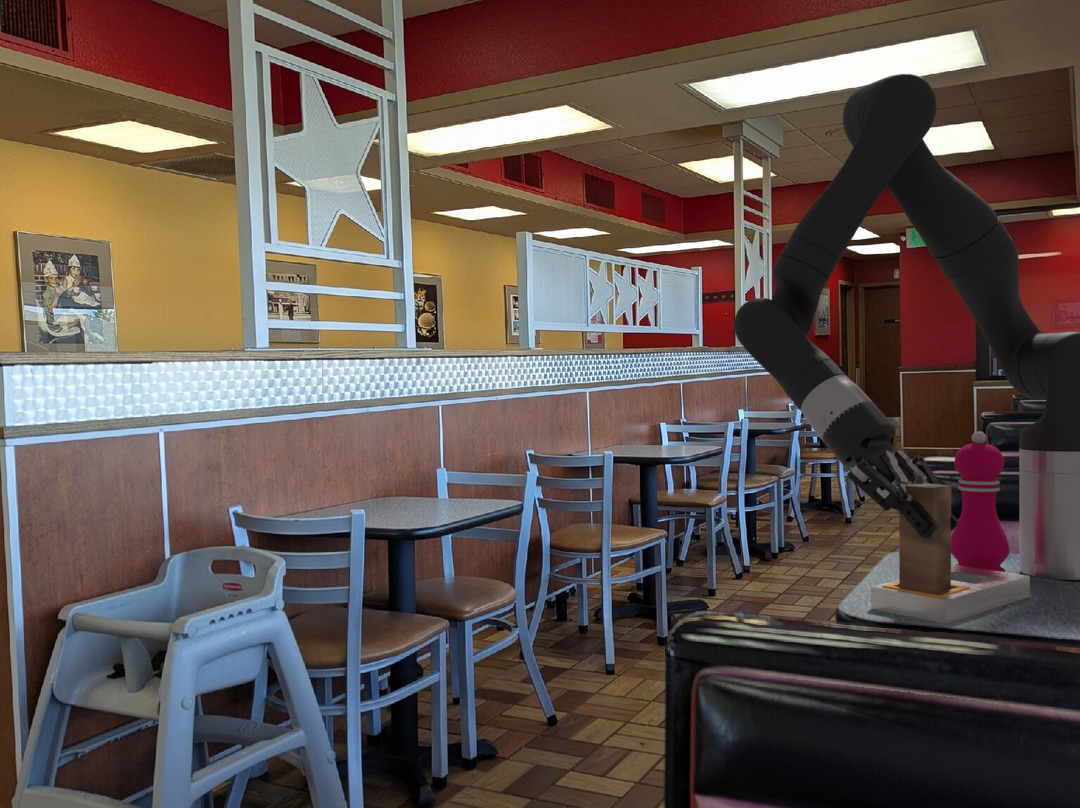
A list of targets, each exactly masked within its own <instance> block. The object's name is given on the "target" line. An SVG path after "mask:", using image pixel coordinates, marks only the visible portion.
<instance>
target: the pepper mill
mask: <svg viewBox="0 0 1080 808" xmlns="http://www.w3.org/2000/svg"><path fill="white" fill-rule="evenodd" d="M986 435H987V434H985V433H984V432H983V431H980V430H979V431H975V432H974V433H973V434H972V435H971V441H972V443H969V444H968V443H967V444H965V445H964V446H962V447H961V448H960V449H958V451H957V452H956V453H955V457H954V468H955V470H956V472H957V473H958V474H959V475H960V477H961V478H960V479H958V483H959V484H958V485H959V486H958V490H960V491H961V497H962V507H961V513H960V516H959V519H958V521H959V525H958V526H957V527H956V528H955V529H954V530H953V531H952V532H951V556H952V557H954V559H955V561H956V562H957V563H956V564H954V566H956V565H959V566H966V567H973V568H980V569H987V570H994V571H1000V572H1006V569H1005V568H1004V567H1003V566H1001V565H1002V563H1003V562H1004V561H1006V559H1007V558H1008V557H1009V555H1010V544H1009V540H1008V538H1007V534H1006V532H1005V530H1004V528H1003V526H1002V524H1001V521H1000V518H999V517H998V513H997V507H996V506H997V504H996V503H997V502H996V499H997V492H1000V490H1001V488H1000V485H999V484H1001V481H1000V480H998V477H999V476H1000V474H1002V472H1003V471H1004V467H1005V459H1004V456H1003V454H1002V453H1001V452H1002V451H1000V450H999V449H998V448H997V447H996V446H995V445H992V444H989V443H986V442H987V436H986Z"/></svg>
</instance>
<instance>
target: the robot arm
mask: <svg viewBox="0 0 1080 808" xmlns="http://www.w3.org/2000/svg"><path fill="white" fill-rule="evenodd" d="M935 94H936V93H935V91H934V89H933V87H932V86H931V85H930V83H929V82H928V81H927V80H926V79H924V78H923V77H921V76H919V75H917V74H912V73H898V74H892V75H888V76H886V77H883V78H880V79H878V80H877V81H873V82H870V83H869V84H866V85H864V86H862V87H860V88H859V89H857V90H856V91H854V92H853V93H852V94H851V95H850V96H849V98H848V99H847V100H846V103H845V105H844V108H843V111H842V112H843V113H842V126H843V129H844V133H845V135H846V138H847V140H848V141H849V142H850V144H851V146H852V149H851V151H850V153H849V155H848V156H847V159H846V160H845V161H844V163H843V164H842V167H841V168H840V169H839V171H838V173H837V174H836V175H835V176H834V178H833V179H832V180H831V182H830V183H829V184H828V186H827V187H826V188H825V189H824V190H823V192H821V194H820V195H819V196H818V198H816V200H815V201H814V203H813V204H812V205H811V206H810V207H809V209H808V210H807V211H806V212H805V214H804V215H803V217H802V218H801V220H800V221H799V222H798V224H797V226H796V227H795V228H794V230H793V232H792V234H791V235H790V237H789V239H788V240H787V243H786V244H785V246H784V248H783V250H782V251H781V253H780V256H779V257H778V259H777V261H776V263H775V265H774V267H773V270H772V277H773V280H774V283H775V289H774V293H773V295H772V297H771V298H772V299H770V298H766V297H759V298H758V297H757V298H752V299H751V300H748V301H746V302H744V304H742V305H741V306H740V307H739V308H738V310H737V312H736V315H735V318H734V322H733V324H734V325H733V326H734V327H733V329H734V333H735V336H736V338H737V340H738V342H739V343H740V345H741V346H742V347H743V348H744V350H745V351H746V352H747V353H749V355H750V356H751V357H752V358H753V359H755V361H756V362H757V363H758V364H759V365H760V366H761V367H762V368H763V369H764V370H765V371H766V372H768V374H770V375H771V376H772V378H774V379H775V380H776V382H777V383H778V384H779V385H780V387H781V389H783V391H784V392H785V394H786V395H787V397H788V398H789V399H790V400H791V401H792V402H793V404H794V405H795V406H796V407H797V409H798V410H799V411H801V414H803V416H804V417H805V419H806V421H807V423H808V424H809V426H810V427H811V429H812V430H813V432H815V433H816V435H817V436H818V438H820V440H822V442H823V443H824V444H825V446H827V448H828V449H829V450H830V451H831V453H832V454H833V455H834V456H835V457H836V458H837V460H838V461H839V462H840V463H841V464H842V466H843V467H845V468H848V469H851V470H849V472H848V473H847V477H848V478H849V480H851V481H852V482H853V483H854V484H855V485H856V486H857V487H858V488H859V489H861V491H863V492H864V493H865V494H867V496H868V497H870V499H872V500H873V501H874V502H875V503H876V504H877V505H878V506H880V507H881V508H882V509H883V510H884V511H890V510H891V509H892V510H893V511H894V512H895V513H897V514H898V515H900V514H901V513H902V515H903V516H904V517H905V518H906V519H907V521H908V522H909V523H910V524H911V525H912V526H913V528H914V529H915V530H916V531H917V532H918V534H919V535H920V536H921V537H922V538H928V537H930V536H931V535H932V534H933V533H934V532H935V531H937V530H938V528H939V525H938V523H937V522H936V521H935V520H934V519H933V518H932V517H931V516H930V515H929V513H928V512H927V511H926V510H925V509H924V508H923V507H922V505H921V504H920V503H919V502H918V501H915V497H914V495H913V494H912V493H911V491H910V490H909V489H908V488H907V487H906V486H907V485H908V484H909V483H910V482H911V484H913V483H922V484H923V483H925V484H938V485H942V484H941V482H940V481H939V480H938V478H937V476H936V474H935V473H934V472H933V470H932V469H931V467H930V465H929V463H927V461H926V459H925V458H924V457H923V456H921V455H920V454H917V455H915V456H914V458H911V457H909V455H907V454H906V453H905V452H904V451H902V450H901V449H900V448H899V447H897V445H895V444H894V439H895V437H896V434H897V429H896V426H895V425H894V423H892V422H891V421H890V420H889V418H888V417H887V416H886V415H885V414H884V412H883V411H881V410H880V408H878V406H877V405H876V404H875V402H873V401H872V399H870V397H869V396H868V395H867V393H865V392H864V391H863V389H861V387H860V386H858V385H857V384H856V383H855V382H853V381H852V380H851V379H850V378H849V377H848V376H847V375H846V373H845V372H844V371H842V369H841V368H840V367H839V366H838V364H836V363H835V362H834V360H833V359H831V358H830V356H828V354H827V353H825V352H824V351H823V350H822V349H821V348H819V347H818V346H817V345H815V344H814V343H813V342H812V341H811V340H810V339H809V338H808V335H809V333H810V330H811V327H812V323H813V321H814V318H815V315H816V314H817V313H816V311H817V310H818V306H819V303H820V300H821V299H820V298H821V295H822V293H823V292H822V291H823V290H824V288H825V286H827V284H828V282H829V280H830V279H831V276H832V275H833V273H834V272H835V270H836V267H837V266H838V264H839V262H840V260H841V259H842V257H843V256H844V254H845V252H846V250H847V248H848V247H849V245H850V244H851V241H852V240H853V238H854V236H855V234H856V233H857V231H858V229H859V228H860V226H861V224H862V223H863V221H864V220H865V218H866V217H867V215H868V213H869V212H870V210H871V209H872V208H873V206H874V204H875V203H876V202H877V200H878V199H879V197H880V195H881V194H882V193H883V192H884V190H885V189H886V188H888V190H889V191H890V193H891V194H892V196H893V197H894V199H895V200H896V201H897V203H898V205H899V206H900V208H901V210H902V211H903V213H904V214H905V215H906V217H907V219H908V221H909V222H910V224H911V225H912V226H913V228H914V229H915V231H916V232H917V234H918V235H919V237H920V238H921V240H922V241H923V243H924V244H925V246H926V249H927V250H928V251H929V253H930V255H931V256H932V257H933V259H934V261H935V262H936V264H937V265H938V267H939V268H940V269H941V271H942V272H943V274H944V275H945V277H946V279H947V280H948V281H949V282H950V283H951V285H952V286H953V288H954V289H955V291H956V292H957V293H958V295H959V296H960V298H961V299H962V302H963V303H964V304H965V306H966V308H967V309H968V311H969V312H970V314H971V315H972V317H973V319H974V320H975V322H976V324H977V326H979V328H980V330H981V332H982V333H983V335H984V338H985V339H986V341H987V343H988V345H989V347H990V349H991V351H992V353H993V355H994V357H995V359H996V361H997V363H998V365H999V366H1000V367H999V368H1001V371H1002V372H1003V374H1004V376H1005V378H1006V379H1007V381H1008V383H1009V384H1010V385H1011V387H1012V388H1013V389H1014V390H1015V391H1016V392H1017V393H1018V394H1020V395H1022V397H1025V398H1028V399H1031V400H1038V401H1039V400H1040V401H1041V400H1045V407H1044V411H1043V414H1042V415H1041V417H1040V418H1039V419H1038V420H1036V421H1035V422H1033V423H1031V424H1029V425H1027V426H1024V427H1023V428H1021V430H1020V432H1019V439H1018V440H1019V443H1018V447H1019V451H1018V452H1019V453H1018V454H1019V456H1018V457H1019V464H1018V466H1019V544H1018V545H1019V547H1018V548H1019V549H1018V550H1019V572H1020V573H1022V574H1023V575H1028V576H1033V577H1038V578H1044V579H1053V580H1065V581H1069V580H1070V581H1080V331H1067V332H1065V331H1064V332H1052V333H1043V332H1042V330H1040V328H1038V326H1037V325H1036V324H1035V322H1034V321H1033V319H1032V318H1031V316H1030V315H1029V313H1028V311H1027V309H1026V308H1025V307H1024V305H1023V302H1022V299H1021V297H1020V287H1019V286H1020V284H1019V283H1020V257H1019V252H1018V251H1019V250H1018V247H1017V245H1016V244H1015V242H1014V240H1013V238H1012V237H1011V235H1010V233H1009V231H1008V230H1007V228H1006V227H1005V226H1004V224H1003V223H1002V221H1001V219H1000V218H999V216H998V215H997V213H996V212H995V211H994V209H993V208H992V207H991V206H990V204H989V203H988V202H987V201H986V200H985V199H984V198H983V197H981V196H980V195H979V194H978V193H977V192H975V190H973V189H972V188H971V187H969V186H968V185H967V184H965V182H963V181H962V180H961V179H959V178H958V177H956V176H955V175H954V174H953V173H952V172H951V171H949V170H947V168H946V167H945V166H944V165H942V164H941V163H940V162H939V161H938V159H937V158H936V157H935V155H934V154H933V153H932V152H931V150H930V148H929V147H928V144H927V143H926V142H925V141H924V138H925V136H926V135H927V133H928V132H929V131H930V129H931V128H932V126H933V124H934V121H935V119H936V115H937V105H938V104H937V97H936V95H935ZM914 501H915V502H914ZM958 525H959V519H958V518H957V517H956V516H955V515H954V513H953V512H951V533H953V531H954V529H955V528H956V527H957V526H958Z"/></svg>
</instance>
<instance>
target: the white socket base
mask: <svg viewBox="0 0 1080 808" xmlns="http://www.w3.org/2000/svg"><path fill="white" fill-rule="evenodd" d="M955 565H956V564H955ZM955 565H951V589H950V590H947V591H943V592H940V593H932V592H926V591H920V590H914V589H908V588H902V587H899V579H897V580H892V581H888V582H884V583H879V584H877V585H872V586H870V609H871V610H876V611H880V612H884V613H885V612H886V613H891V614H895V615H896V614H897V615H901V616H902V615H903V616H907V617H911V618H916V619H917V618H918V619H922V620H927V621H930V622H931V621H932V622H937V623H943V624H950V623H953V622H956V621H960V620H962V619H966V618H969V617H971V616H975V615H977V614H980V613H981V614H982V613H984V612H987V611H990V610H993V609H997V608H1000V607H1002V606H1005V605H1006V606H1007V605H1009V604H1012V603H1015V602H1018V601H1020V600H1025V599H1026V598H1030V597H1031V594H1030V592H1031V586H1030V584H1031V581H1030V580H1031V575H1028V574H1020V573H1014V572H1007V571H1005V572H1000V571H994V570H987V569H980V568H973V567H966V566H959V565H956V566H955Z"/></svg>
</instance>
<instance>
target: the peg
mask: <svg viewBox="0 0 1080 808" xmlns="http://www.w3.org/2000/svg"><path fill="white" fill-rule="evenodd" d="M906 487H907V488H908V489H909V490H910V491H911V493H912V494H913V495H914V497H915V501H918V502H919V503H920V504H921V505H922V507H923V508H924V509H925V510H926V511H927V512H928V513H929V515H930V516H931V517H932V518H933V519H934V520H935V521H936V522H937V523H938V525H939V528H938V530H937V531H935V532H934V533H933V534H932V535H931V536H930V537H928V538H922V537H921V536H920V535H919V534H918V532H917V531H916V530H915V529H914V528H913V526H912V525H911V524H910V523H909V522H908V521H907V519H906V518H905V517H904V516H903V515H902V513H901V514H899V536H898V537H899V549H898V550H899V551H898V552H899V555H898V556H899V562H898V563H899V566H898V567H899V568H898V569H899V570H898V572H899V574H898V575H899V577H898V580H899V587H902V588H908V589H914V590H920V591H926V592H932V593H940V592H943V591H947V590H950V589H951V567H952V554H951V536H952V532H951V513H952V485H950V484H949V485H947V484H941V485H938V484H930V483H929V484H925V483H923V484H922V483H913V484H912V483H908V485H907V486H906ZM915 501H914V502H915Z"/></svg>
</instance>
